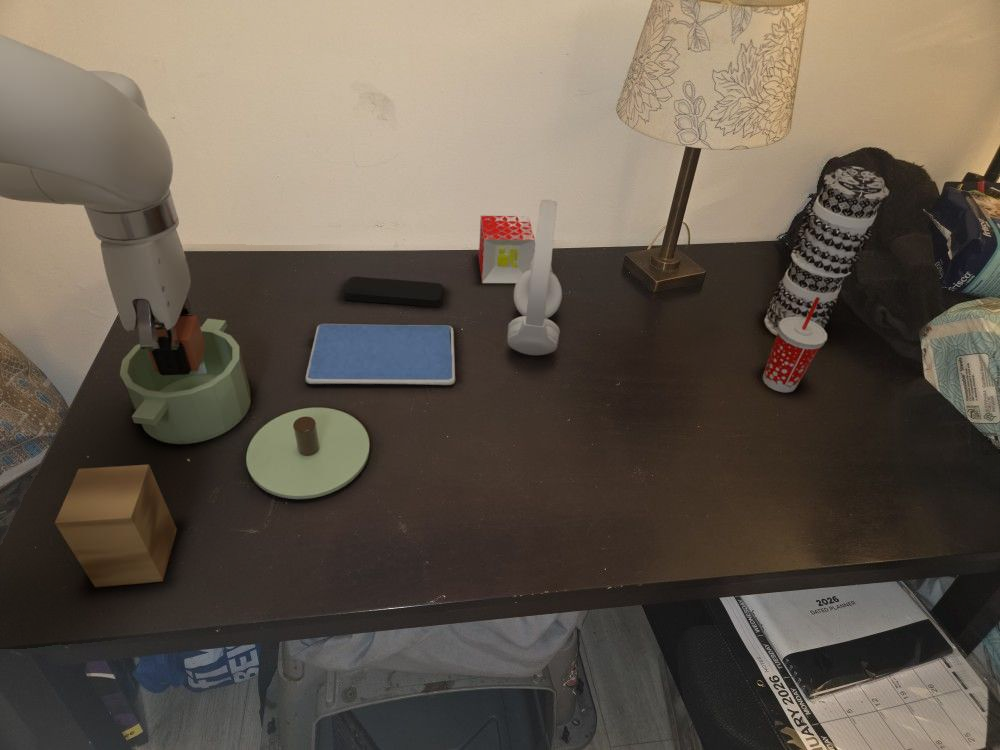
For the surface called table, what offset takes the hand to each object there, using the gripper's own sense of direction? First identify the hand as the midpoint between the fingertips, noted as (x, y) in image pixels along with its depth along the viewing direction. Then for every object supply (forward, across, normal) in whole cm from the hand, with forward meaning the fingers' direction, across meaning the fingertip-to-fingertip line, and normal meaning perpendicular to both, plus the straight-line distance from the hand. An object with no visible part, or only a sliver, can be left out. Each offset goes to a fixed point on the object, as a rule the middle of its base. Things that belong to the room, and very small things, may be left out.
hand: (180, 357), depth 74 cm
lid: (+7, +9, +14) cm, 18 cm away
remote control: (+8, -23, +25) cm, 35 cm away
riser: (+8, +21, -1) cm, 23 cm away
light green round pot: (+8, 0, 0) cm, 8 cm away
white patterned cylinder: (+8, -11, +86) cm, 87 cm away
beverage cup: (+8, +1, +77) cm, 78 cm away
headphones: (+8, -12, +44) cm, 47 cm away
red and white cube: (+8, -30, +43) cm, 53 cm away
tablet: (+8, -8, +23) cm, 25 cm away
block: (0, 0, 0) cm, 0 cm away
